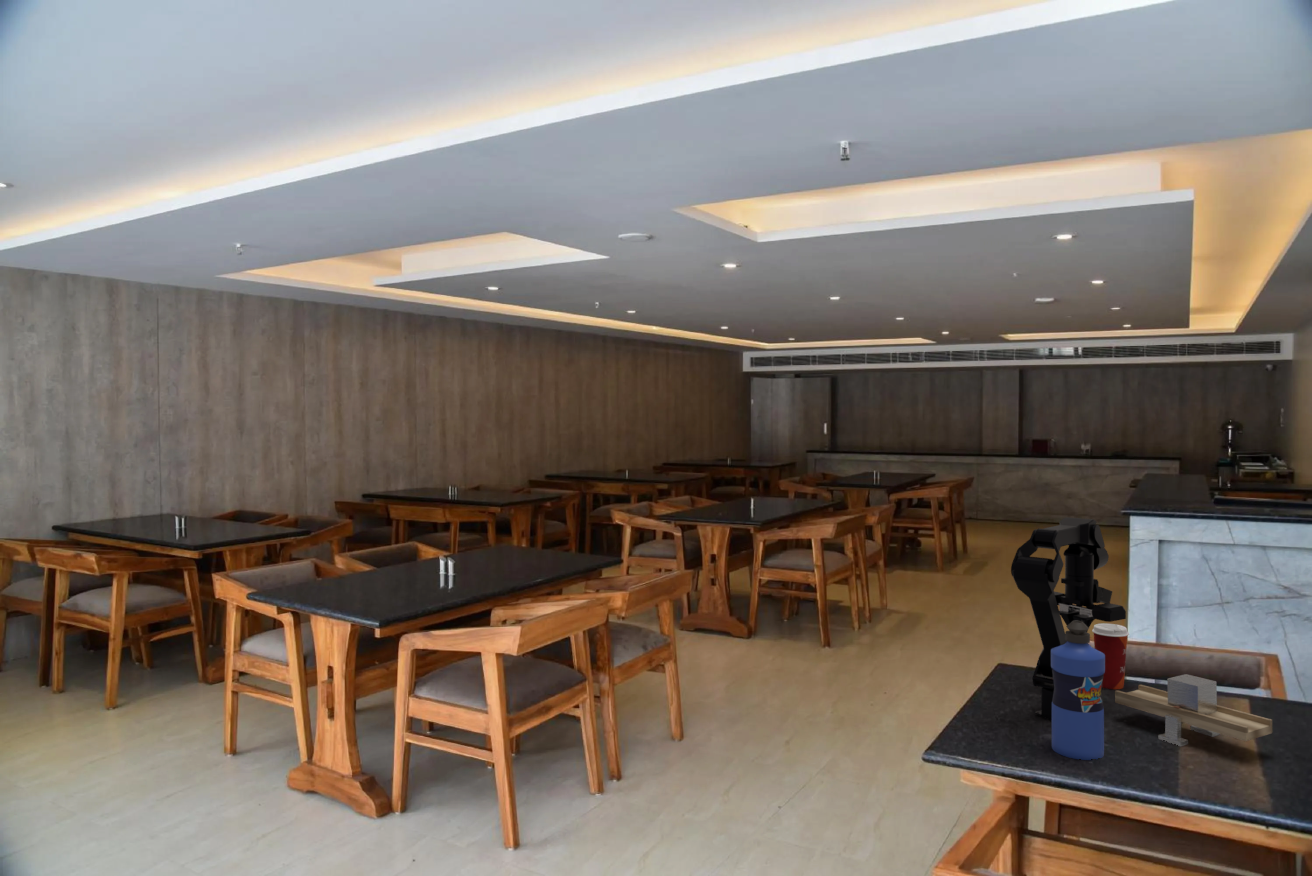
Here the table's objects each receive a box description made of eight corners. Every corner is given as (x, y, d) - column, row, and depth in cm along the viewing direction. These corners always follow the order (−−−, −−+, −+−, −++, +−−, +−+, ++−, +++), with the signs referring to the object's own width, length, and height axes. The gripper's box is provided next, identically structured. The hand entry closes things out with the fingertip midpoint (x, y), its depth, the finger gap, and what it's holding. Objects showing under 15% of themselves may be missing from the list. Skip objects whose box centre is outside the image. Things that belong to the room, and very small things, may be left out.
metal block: (1198, 717, 167) (1197, 686, 167) (1167, 708, 173) (1167, 678, 173) (1217, 712, 170) (1216, 681, 170) (1186, 703, 176) (1186, 674, 175)
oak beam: (1245, 745, 158) (1245, 726, 158) (1115, 706, 182) (1114, 689, 182) (1272, 737, 162) (1272, 718, 162) (1141, 699, 186) (1140, 683, 185)
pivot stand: (1180, 746, 167) (1180, 721, 167) (1158, 739, 171) (1158, 714, 171) (1219, 734, 173) (1219, 710, 173) (1197, 727, 177) (1197, 703, 177)
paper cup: (1135, 690, 200) (1135, 630, 199) (1101, 691, 200) (1101, 631, 200) (1118, 680, 208) (1118, 622, 207) (1085, 680, 208) (1085, 622, 207)
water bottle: (1116, 758, 163) (1116, 626, 162) (1070, 762, 161) (1071, 629, 160) (1083, 739, 172) (1083, 614, 171) (1040, 743, 170) (1040, 617, 169)
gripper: (1142, 577, 187) (1142, 649, 188) (1067, 564, 204) (1067, 630, 205) (1108, 583, 182) (1108, 656, 183) (1034, 569, 199) (1034, 636, 200)
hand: (1079, 644), depth 193 cm, fingers closed
